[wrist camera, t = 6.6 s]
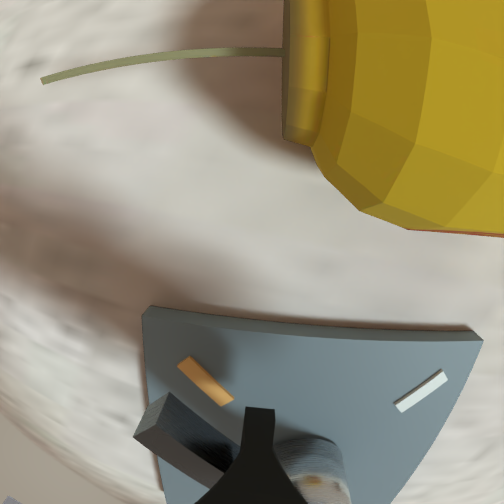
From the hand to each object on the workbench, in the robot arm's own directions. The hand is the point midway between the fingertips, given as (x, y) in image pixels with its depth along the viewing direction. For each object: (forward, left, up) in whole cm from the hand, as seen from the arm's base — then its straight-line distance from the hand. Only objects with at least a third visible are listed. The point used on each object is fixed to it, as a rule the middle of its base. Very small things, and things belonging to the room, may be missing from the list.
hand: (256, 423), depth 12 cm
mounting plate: (-6, -3, -4) cm, 8 cm away
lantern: (+14, -6, -4) cm, 16 cm away
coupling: (-3, 0, -3) cm, 4 cm away
